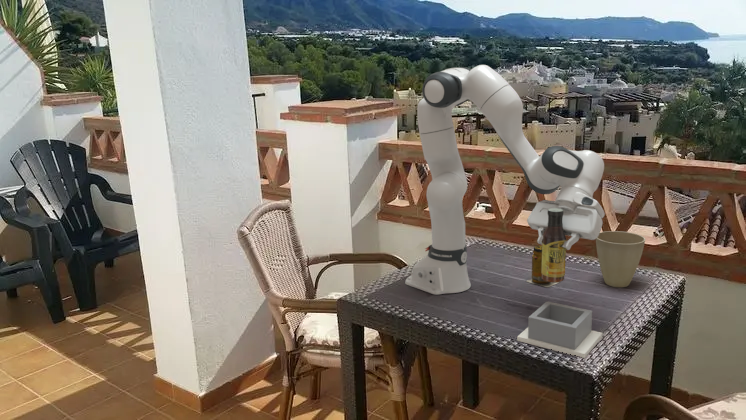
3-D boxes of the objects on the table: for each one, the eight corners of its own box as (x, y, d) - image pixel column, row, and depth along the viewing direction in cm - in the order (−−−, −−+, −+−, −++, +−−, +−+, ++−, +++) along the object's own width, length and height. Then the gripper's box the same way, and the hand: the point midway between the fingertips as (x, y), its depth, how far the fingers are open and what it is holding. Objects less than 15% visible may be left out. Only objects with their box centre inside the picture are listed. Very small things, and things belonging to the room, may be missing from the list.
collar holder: (517, 340, 157) (517, 315, 155) (538, 321, 168) (538, 298, 166) (584, 358, 146) (585, 331, 144) (602, 336, 157) (603, 312, 155)
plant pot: (635, 295, 182) (638, 246, 179) (587, 286, 191) (589, 239, 188) (647, 280, 194) (650, 234, 190) (601, 272, 203) (603, 228, 199)
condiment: (538, 276, 203) (539, 243, 200) (560, 282, 196) (561, 248, 193) (525, 281, 198) (526, 248, 195) (547, 288, 192) (548, 253, 189)
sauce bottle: (549, 285, 157) (550, 214, 153) (536, 277, 163) (536, 209, 158) (570, 281, 159) (571, 210, 154) (557, 274, 165) (557, 205, 160)
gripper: (534, 193, 168) (515, 233, 164) (603, 202, 153) (583, 246, 149) (543, 205, 172) (524, 245, 168) (610, 214, 157) (591, 258, 153)
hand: (552, 246), depth 158 cm, fingers closed on sauce bottle, 6 cm apart
